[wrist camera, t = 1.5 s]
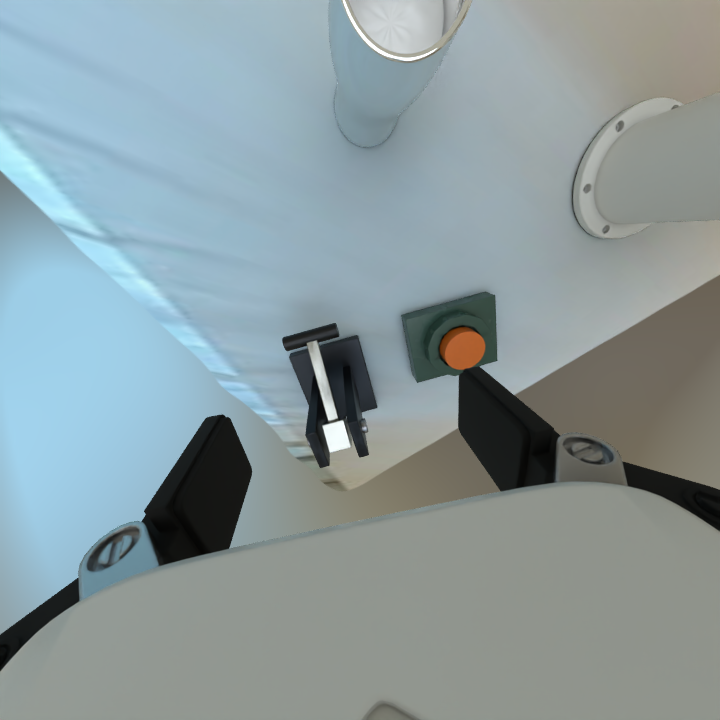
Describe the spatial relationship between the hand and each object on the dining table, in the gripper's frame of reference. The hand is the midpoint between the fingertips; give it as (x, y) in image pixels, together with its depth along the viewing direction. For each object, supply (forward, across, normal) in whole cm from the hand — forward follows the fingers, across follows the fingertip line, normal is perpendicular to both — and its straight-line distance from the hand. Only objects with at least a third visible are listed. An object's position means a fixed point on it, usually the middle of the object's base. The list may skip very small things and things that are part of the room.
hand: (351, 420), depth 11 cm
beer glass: (+24, -6, -17) cm, 30 cm away
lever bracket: (+24, +2, +11) cm, 26 cm away
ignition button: (+20, -14, +7) cm, 25 cm away
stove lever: (+16, +2, +7) cm, 18 cm away
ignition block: (+23, -14, +7) cm, 28 cm away
